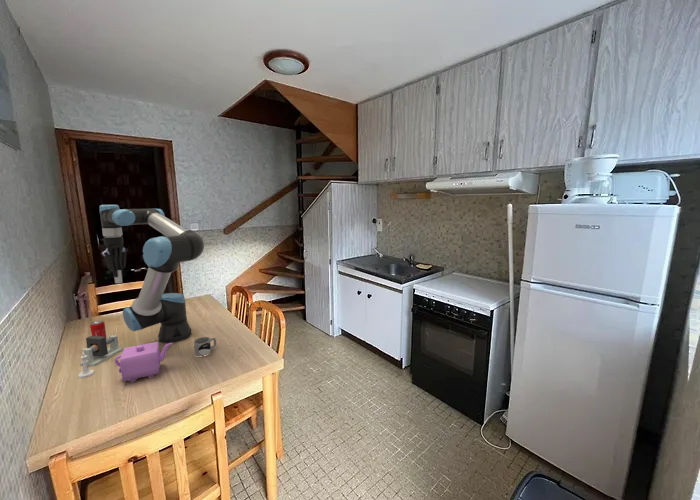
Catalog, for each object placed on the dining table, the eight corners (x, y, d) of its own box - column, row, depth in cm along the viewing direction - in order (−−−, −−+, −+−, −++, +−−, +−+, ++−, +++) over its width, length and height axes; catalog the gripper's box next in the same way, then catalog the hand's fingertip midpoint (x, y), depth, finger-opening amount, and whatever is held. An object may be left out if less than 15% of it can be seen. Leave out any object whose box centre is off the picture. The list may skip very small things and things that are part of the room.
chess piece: (93, 369, 123) (89, 347, 121) (95, 374, 120) (92, 351, 118) (77, 375, 119) (73, 352, 118) (79, 379, 116) (75, 356, 115)
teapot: (114, 387, 112) (110, 356, 110) (119, 373, 120) (115, 345, 118) (175, 372, 122) (172, 344, 120) (175, 361, 130) (173, 334, 128)
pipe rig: (109, 349, 140) (107, 334, 139) (122, 350, 139) (121, 335, 138) (80, 365, 126) (77, 349, 125) (94, 366, 126) (92, 350, 124)
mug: (199, 358, 132) (198, 345, 131) (192, 354, 136) (191, 340, 135) (220, 350, 140) (219, 337, 139) (213, 345, 144) (212, 333, 143)
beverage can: (99, 348, 140) (96, 325, 139) (90, 347, 141) (87, 324, 140) (110, 343, 145) (106, 320, 144) (101, 342, 146) (98, 319, 145)
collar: (93, 352, 132) (91, 335, 131) (108, 353, 132) (105, 336, 130) (88, 355, 130) (85, 338, 129) (103, 356, 129) (100, 339, 128)
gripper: (117, 234, 150) (123, 279, 154) (93, 237, 138) (99, 286, 141) (131, 235, 149) (136, 279, 153) (107, 238, 137) (113, 286, 141)
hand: (118, 282), depth 147 cm, fingers closed
